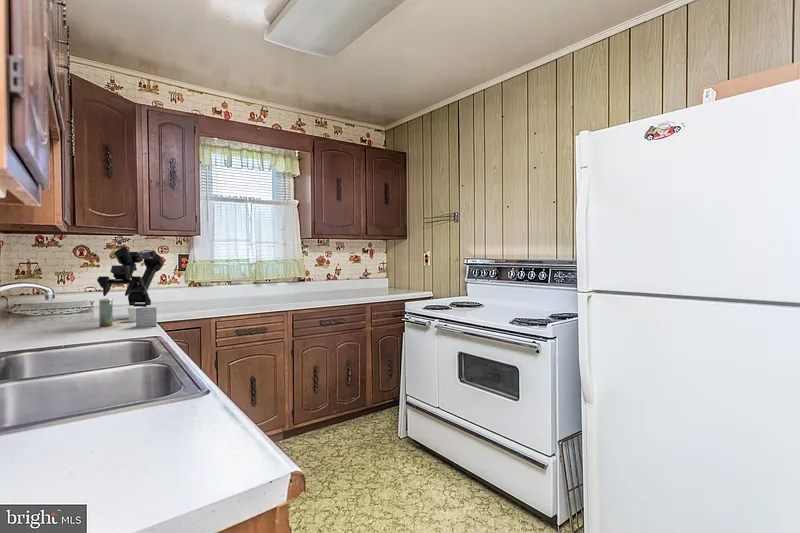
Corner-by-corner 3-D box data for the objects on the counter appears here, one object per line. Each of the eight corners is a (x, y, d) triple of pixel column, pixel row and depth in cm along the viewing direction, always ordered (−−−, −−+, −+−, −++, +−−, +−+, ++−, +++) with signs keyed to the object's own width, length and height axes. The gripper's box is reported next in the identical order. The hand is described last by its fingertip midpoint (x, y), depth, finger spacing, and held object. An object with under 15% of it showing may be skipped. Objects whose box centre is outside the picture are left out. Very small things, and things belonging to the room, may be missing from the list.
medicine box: (156, 325, 195) (156, 306, 195) (156, 326, 191) (156, 307, 191) (136, 326, 192) (136, 307, 191) (135, 327, 188) (135, 308, 188)
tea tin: (102, 325, 192) (102, 298, 192) (114, 325, 192) (114, 298, 192) (96, 327, 187) (96, 299, 187) (108, 326, 187) (109, 299, 187)
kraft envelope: (110, 323, 198) (110, 323, 198) (131, 323, 199) (131, 322, 199) (93, 328, 184) (93, 327, 184) (115, 328, 186) (115, 327, 186)
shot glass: (141, 319, 212) (141, 305, 212) (146, 321, 208) (146, 306, 207) (125, 321, 207) (125, 307, 207) (130, 322, 202) (130, 308, 202)
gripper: (99, 259, 201) (85, 283, 190) (141, 259, 203) (130, 283, 193) (108, 275, 209) (95, 300, 198) (148, 275, 211) (138, 299, 201)
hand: (114, 295), depth 197 cm, fingers open, 9 cm apart
